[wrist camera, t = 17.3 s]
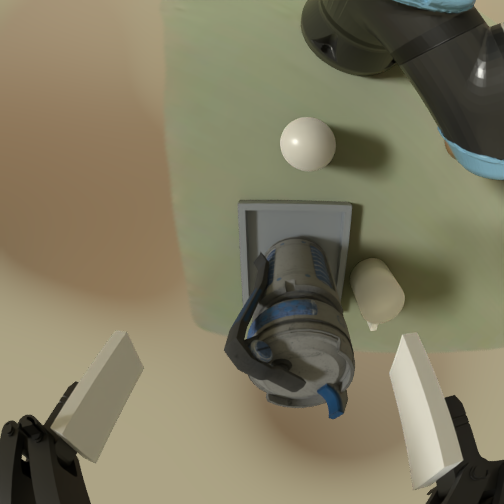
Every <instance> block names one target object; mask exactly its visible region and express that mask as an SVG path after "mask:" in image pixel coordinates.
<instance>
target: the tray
mask: <svg viewBox="0 0 504 504" xmlns="http://www.w3.org/2000/svg"><path fill="white" fill-rule="evenodd" d="M351 213H352V205H351V204H350V203H349V202H335V201H302V200H240V201H239V202H238V221H239V241H240V260H241V279H242V296H243V307H244V305H245V303H246V302H247V300H248V298H249V296H250V295H251V293H252V291H253V288H254V284H255V279H256V275H257V269H256V267H255V265H254V263H253V262H254V261H255V260H256V258H257V257H258V256H259V255H260V252H262V254H263V255H265V253H266V252H267V250H268V249H269V248H270V247H271V246H272V245H273V244H274V243H276V242H277V241H279V240H282V239H284V238H288V237H304V238H307V239H310V240H312V241H314V242H316V243H317V244H318V245H319V246H320V247H321V248H322V249H323V250H324V252H325V253H326V256H327V258H328V261H329V265H330V268H331V271H332V274H333V278H334V281H335V284H336V288H337V291H338V295H339V298H340V302H341V296H342V289H343V283H344V276H345V269H346V261H347V253H348V244H349V235H350V225H351Z"/></svg>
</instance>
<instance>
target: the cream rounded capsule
mask: <svg viewBox="0 0 504 504" xmlns="http://www.w3.org/2000/svg"><path fill="white" fill-rule="evenodd" d="M280 147H281V151H282V154H283V156H284V158H285V159H286V160H287V162H288V163H289V164H291V165H292V166H293V167H295V168H297V169H299V170H303V171H316V170H319V169H321V168H323V167H325V166H326V165H327V164H328V163H329V162H330V161H331V159H332V158H333V156H334V153H335V149H336V141H335V137H334V134H333V132H332V130H331V129H330V128H329V127H328V125H326V124H325V123H324V122H323V121H321V120H319V119H316V118H312V117H302V118H298V119H296V120H294V121H292V122H290V123H289V124H288V125H287V126H286V127H285V129H284V131H283V133H282V135H281V140H280Z"/></svg>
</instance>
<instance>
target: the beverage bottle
mask: <svg viewBox="0 0 504 504" xmlns="http://www.w3.org/2000/svg"><path fill="white" fill-rule="evenodd" d="M253 263H254V265H255V267H256V269H257V275H256V279H255V284H254V288H253V291H252V293H251V295H250V296H249V298H248V300H247V302H246V303H245V305H244V307H243V308H242V310H241V312H240V313H239V315H238V317H237V319H236V320H235V322H234V324H233V325H232V327H231V329H230V331H229V335H228V338H227V341H226V345H225V348H224V351H225V353H226V354H227V355H228V357H229V358H230V359H231V361H232V362H233V363H234V365H235V366H236V367H237V369H238V370H240V371H242V372H244V373H246V374H248V376H249V378H250V380H251V381H252V382H253V384H254V385H256V386H257V387H258V388H259V389H261V390H263V391H264V392H266V393H267V394H266V398H267V401H268V402H270V403H273V404H275V405H279V406H283V407H292V408H304V407H312V406H316V405H320V404H323V403H326V402H327V405H328V409H329V418H331V419H335V418H337V417H339V416H340V415H342V414H343V413H344V411H345V407H346V404H347V401H348V397H347V390H346V389H347V388H348V387H349V385H350V383H351V382H352V380H353V376H354V371H355V360H354V352H353V348H352V344H351V340H350V336H349V332H348V328H347V325H346V322H345V320H344V317H343V309H342V305H341V302H340V298H339V295H338V291H337V288H336V284H335V281H334V278H333V274H332V271H331V268H330V265H329V261H328V258H327V256H326V253H325V252H324V250H323V249H322V248H321V247H320V246H319V245H318V244H317V243H316V242H314V241H312V240H310V239H307V238H304V237H288V238H284V239H282V240H279V241H277V242H276V243H274V244H273V245H272V246H271V247H270V248H269V249H268V250H267V252H266V253H265V255H263V254H262V252H260V255H259V256H258V257H257V258H256V260H255V261H254V262H253ZM252 316H253V320H252V322H253V323H252V324H251V326H250V329H249V331H248V336H247V339H246V340H244V338H245V333H246V329H247V326H248V324H249V322H250V320H251V318H252Z"/></svg>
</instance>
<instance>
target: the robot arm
mask: <svg viewBox="0 0 504 504" xmlns="http://www.w3.org/2000/svg"><path fill="white" fill-rule="evenodd" d="M475 1H476V0H308V1H307V2H306V4H305V6H304V8H303V11H302V17H301V29H302V33H303V36H304V39H305V41H306V43H307V44H308V46H309V47H310V49H311V50H312V51H313V52H314V53H315V54H316V55H317V56H318V57H319V58H320V59H321V60H322V61H324V62H325V63H327V64H328V65H330V66H332V67H333V68H335V69H337V70H340V71H342V72H345V73H349V74H353V75H360V76H369V75H375V74H379V73H382V72H384V71H386V70H388V69H390V68H391V67H393V66H394V65H395V64H396V63H397V64H398V65H399V67H400V68H401V70H402V71H403V72H404V74H405V75H406V76H407V78H408V79H409V81H410V82H411V84H412V85H413V86H414V88H415V89H416V91H417V92H418V94H419V96H420V97H421V99H422V100H423V102H424V103H425V105H426V107H427V108H428V110H429V112H430V113H431V115H432V117H433V118H434V120H435V122H436V124H437V125H438V130H439V132H440V134H441V136H442V137H443V138H444V139H445V141H446V142H447V143H448V145H449V147H450V149H451V151H452V153H453V154H454V156H455V158H456V160H457V161H458V162H459V163H460V164H461V165H462V166H463V167H464V168H465V169H467V170H468V171H469V172H471V173H473V174H475V175H478V176H481V177H484V178H488V179H495V180H504V23H500V24H497V25H494V26H492V27H489V26H488V25H487V23H486V22H485V21H484V19H483V18H482V16H481V15H480V14H479V12H478V11H477V10H476V8H475V7H474V3H475ZM143 369H144V366H143V365H142V363H141V361H140V359H139V356H138V355H137V352H136V351H135V348H134V346H133V344H132V342H131V340H130V338H129V335H128V333H127V332H125V331H118V330H115V332H114V333H113V335H112V336H111V337H110V338H109V340H108V341H107V343H106V344H105V345H104V347H103V348H102V350H101V351H100V352H99V354H98V355H97V357H96V358H95V360H94V361H93V362H92V364H91V365H90V367H89V368H88V370H87V371H86V373H85V374H84V376H83V377H82V378H81V380H80V381H79V382H74V383H73V384H72V385H71V386H69V387H68V389H67V390H66V392H65V393H64V395H63V397H62V398H61V399H60V401H59V403H58V404H57V405H56V407H55V409H54V410H53V412H52V413H51V415H50V416H49V418H48V420H47V421H46V423H45V424H44V425H42V424H41V423H40V422H39V421H38V420H37V419H36V418H35V417H34V416H32V415H25V416H23V417H22V418H21V419H20V420H19V422H18V424H17V423H16V422H15V421H9V422H7V423H6V424H5V425H4V427H3V429H2V433H1V438H0V504H91V503H90V500H89V496H88V493H87V490H86V487H85V483H84V480H83V476H82V472H81V468H80V464H79V460H78V458H77V456H76V454H77V452H78V453H79V454H80V455H81V456H82V457H84V458H85V459H88V460H89V461H92V462H94V463H96V462H97V460H98V458H99V456H100V454H101V452H102V450H103V448H104V445H105V443H106V441H107V439H108V437H109V435H110V433H111V431H112V429H113V427H114V425H115V423H116V421H117V419H118V417H119V415H120V413H121V411H122V409H123V407H124V405H125V403H126V402H127V400H128V398H129V396H130V394H131V392H132V390H133V388H134V386H135V384H136V382H137V381H138V379H139V377H140V375H141V373H142V371H143ZM389 375H390V378H391V382H392V386H393V390H394V394H395V397H396V402H397V405H398V410H399V414H400V419H401V423H402V428H403V433H404V438H405V442H406V448H407V454H408V459H409V466H410V472H411V479H412V487H413V490H417V489H420V488H424V487H427V486H429V485H431V484H433V483H434V482H436V483H437V486H436V487H435V488H433V489H431V490H430V491H429V492H428V493H427V495H430V494H431V493H432V494H431V496H430V498H429V499H428V501H427V503H426V504H504V460H499V461H487V460H486V459H484V458H482V457H481V456H480V454H479V452H478V449H477V446H476V443H475V439H474V436H473V433H472V430H471V427H470V424H469V423H468V422H469V421H468V418H467V416H466V412H465V410H464V407H463V404H462V403H461V401H460V400H459V399H458V398H457V397H456V396H455V395H453V396H449V397H446V398H444V396H443V393H442V390H441V388H440V385H439V382H438V380H437V377H436V375H435V372H434V370H433V367H432V365H431V363H430V360H429V358H428V356H427V353H426V351H425V349H424V346H423V344H422V342H421V340H420V338H419V335H418V333H417V332H416V333H408V334H402V337H401V341H400V344H399V347H398V350H397V353H396V356H395V359H394V362H393V364H392V367H391V370H390V372H389ZM22 455H24V456H25V457H26V461H24V460H22V459H21V458H22Z"/></svg>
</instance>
